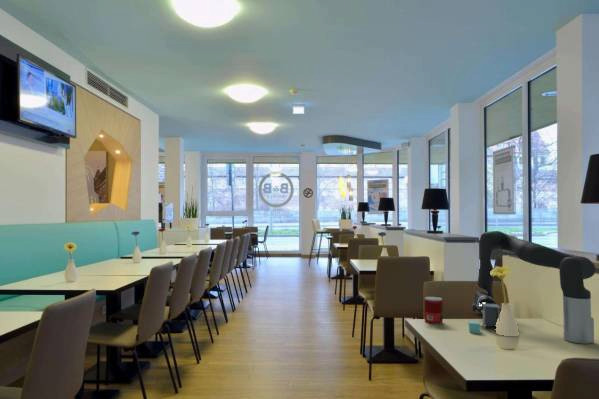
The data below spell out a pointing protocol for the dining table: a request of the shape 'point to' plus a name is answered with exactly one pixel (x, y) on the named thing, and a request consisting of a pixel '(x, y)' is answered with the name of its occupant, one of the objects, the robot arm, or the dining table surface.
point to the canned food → (433, 309)
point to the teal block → (474, 327)
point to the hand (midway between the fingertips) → (491, 311)
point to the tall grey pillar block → (490, 314)
